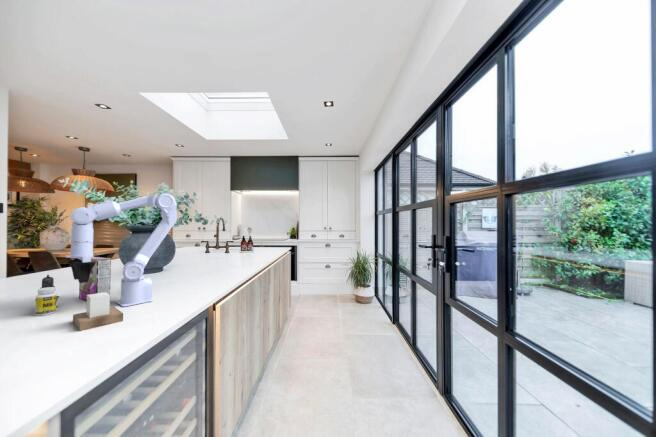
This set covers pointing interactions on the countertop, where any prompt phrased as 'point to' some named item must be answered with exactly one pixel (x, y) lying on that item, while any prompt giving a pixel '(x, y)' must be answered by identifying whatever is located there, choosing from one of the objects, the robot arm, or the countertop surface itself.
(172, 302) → the countertop surface
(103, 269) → the candy bar box
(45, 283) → the salt shaker
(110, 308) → the walnut block
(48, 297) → the supplement bottle
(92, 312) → the white small block
